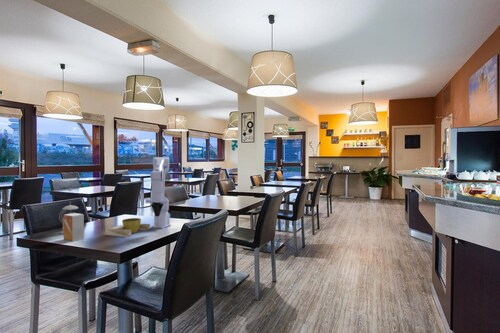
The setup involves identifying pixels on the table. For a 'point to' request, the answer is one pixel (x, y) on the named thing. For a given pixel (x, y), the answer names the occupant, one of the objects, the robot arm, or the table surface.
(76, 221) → the small box
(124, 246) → the table surface
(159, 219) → the robot arm
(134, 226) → the flower pot
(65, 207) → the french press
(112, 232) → the beige crumpled cloth
